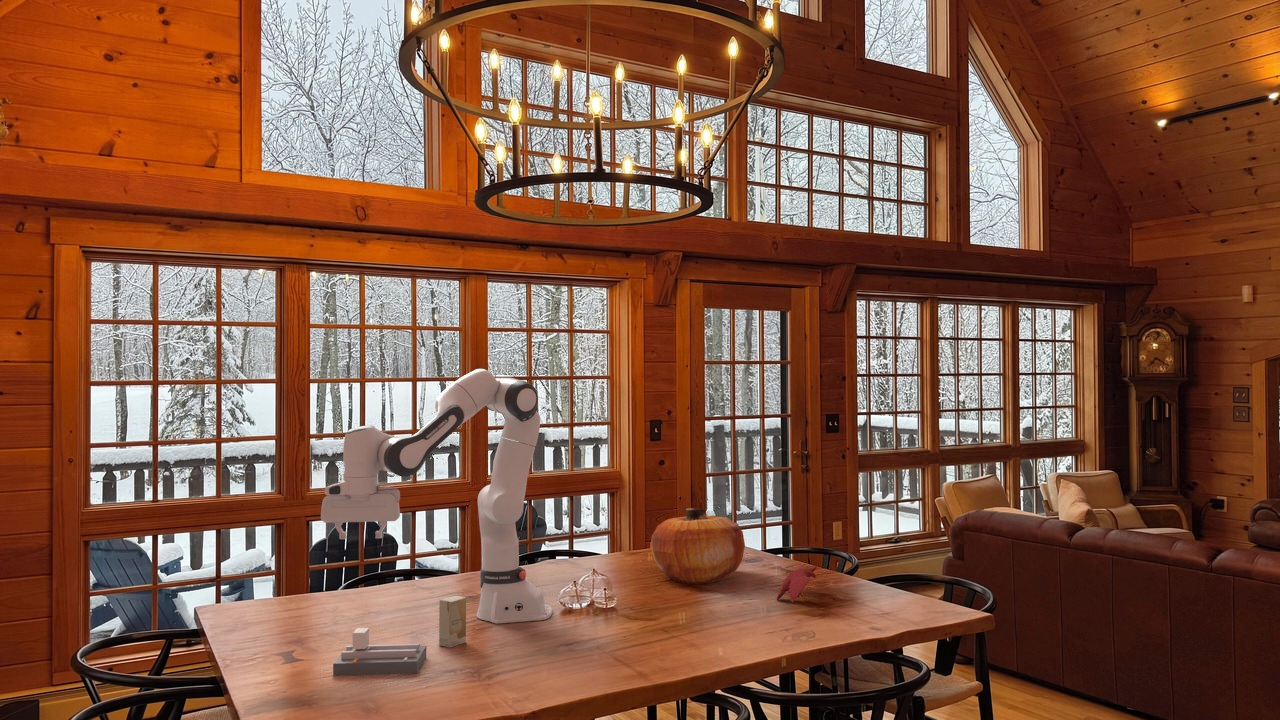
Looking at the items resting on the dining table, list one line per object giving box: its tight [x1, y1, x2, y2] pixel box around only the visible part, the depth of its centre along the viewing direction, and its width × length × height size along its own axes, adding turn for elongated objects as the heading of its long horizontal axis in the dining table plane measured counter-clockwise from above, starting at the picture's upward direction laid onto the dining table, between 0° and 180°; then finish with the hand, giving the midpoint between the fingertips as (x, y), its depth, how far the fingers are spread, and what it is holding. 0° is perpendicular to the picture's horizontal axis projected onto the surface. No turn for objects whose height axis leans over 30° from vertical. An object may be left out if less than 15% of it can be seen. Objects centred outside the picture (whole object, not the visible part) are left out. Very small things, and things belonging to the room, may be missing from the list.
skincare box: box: [438, 595, 467, 648], centre depth 233 cm, size 6×4×12 cm
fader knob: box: [351, 627, 370, 651], centre depth 215 cm, size 4×4×6 cm
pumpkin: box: [650, 507, 746, 585], centre depth 305 cm, size 33×33×25 cm
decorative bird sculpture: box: [776, 566, 817, 603], centre depth 273 cm, size 28×9×15 cm
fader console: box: [332, 643, 427, 677], centre depth 215 cm, size 20×12×5 cm, turn 93°
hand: (360, 538), depth 231 cm, fingers open, 8 cm apart
